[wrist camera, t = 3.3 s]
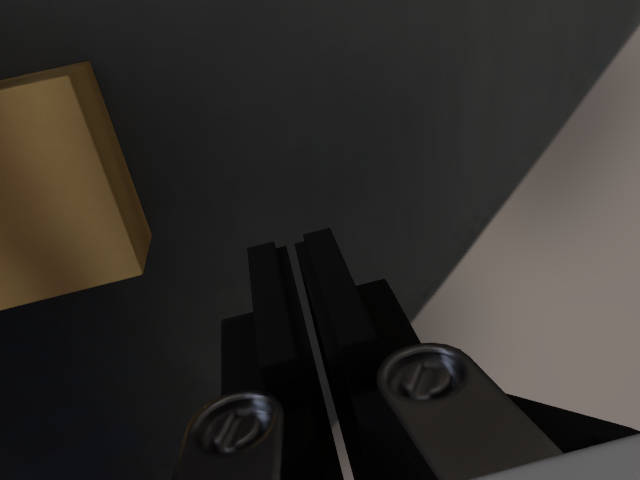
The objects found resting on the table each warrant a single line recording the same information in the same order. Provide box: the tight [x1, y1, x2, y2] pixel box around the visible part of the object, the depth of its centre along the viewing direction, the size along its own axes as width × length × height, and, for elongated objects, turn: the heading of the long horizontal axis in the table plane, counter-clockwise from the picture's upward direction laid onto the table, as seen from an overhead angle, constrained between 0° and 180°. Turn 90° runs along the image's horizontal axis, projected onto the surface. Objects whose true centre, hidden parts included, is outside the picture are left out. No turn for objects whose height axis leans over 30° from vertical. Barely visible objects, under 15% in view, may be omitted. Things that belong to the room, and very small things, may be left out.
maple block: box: [0, 61, 152, 310], centre depth 23 cm, size 8×8×4 cm
